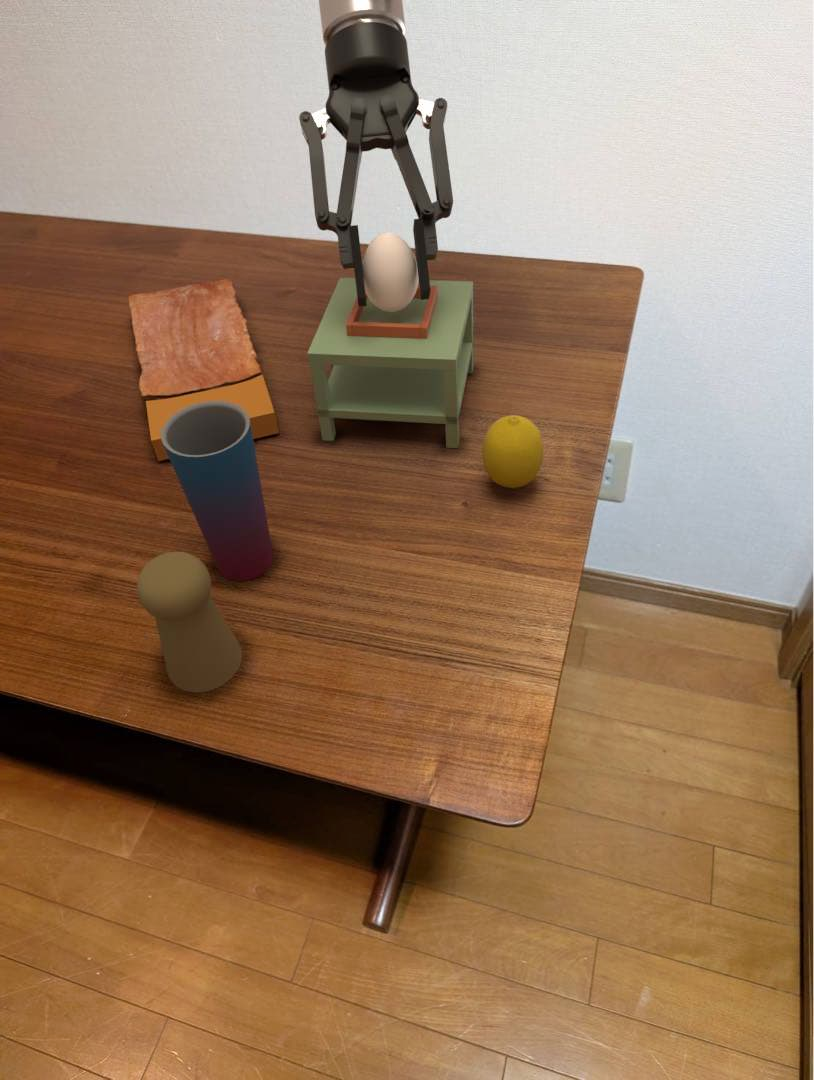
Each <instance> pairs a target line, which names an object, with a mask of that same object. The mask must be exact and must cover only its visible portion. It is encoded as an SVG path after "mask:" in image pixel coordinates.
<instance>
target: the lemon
mask: <svg viewBox="0 0 814 1080" xmlns="http://www.w3.org/2000/svg"><path fill="white" fill-rule="evenodd" d="M481 455H482V456H481V457H482V464H483V467H484V470H485V472H486V474H487V475H488V477H489V478H490V479H491V480H492V481H493V482H494V483H495V484H497V485H499V486H502V487H504V488H508V489H516V488H520V487H521V488H522V487H523V486H526V485H528V484H529V483H530V482H532V481H533V480H534V479H535V477H536V476H537V475H538V474H539V472H540V470H541V468H542V464H543V461H544V443H543V438H542V435H541V432H540V431H539V428H538V427H537V426H536V424H535V423H534V422H532V420H530V419H528V418H527V417H524V416H522V415H518V414H517V415H516V414H515V415H514V414H512V415H511V414H510V415H505V416H503V417H501V418H499V419H497V420H496V421H495V422H493V423H492V424H491V426H490V427H489V428H488V430H487V431H486V434H485V436H484V441H483V444H482V451H481Z"/></svg>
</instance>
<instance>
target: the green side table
mask: <svg viewBox="0 0 814 1080" xmlns="http://www.w3.org/2000/svg"><path fill="white" fill-rule="evenodd" d="M429 282H430V296H429V299H425V300H421V296H420V287H419V280H418V286H417V290H416V293H415V295H414V297H413V299H412V300H411V302H410V303H409V304H408V305H407V306H406V307H405V308H403V309H402V310H400V311H396V312H386V311H383V310H381V309H379V308H378V307H376V306H375V305H374V304H373V303H372V302H371V301H370V300H369V298H368V296H367V294H366V293H365V294H366V305H367V306H358V298H357V289H356V280H355V277H339V279H338V281H337V284H336V286H335V287H334V290H333V293H332V295H331V297H330V300H329V302H328V305H327V306H326V309H325V311H324V313H323V316H322V318H321V321H320V323H319V324H318V327H317V329H316V333H315V335H314V337H313V339H312V341H311V344H310V346H309V348H308V350H307V353H306V355H307V360H308V364H309V371H310V376H311V383H312V390H313V394H314V400H315V405H316V412H317V417H318V423H319V428H320V435H321V440H322V441H327V442H334V441H335V439H336V434H337V431H336V424H335V419H346V420H348V419H349V420H364V421H365V420H366V421H381V422H382V421H384V422H385V421H386V422H402V423H417V424H418V423H421V424H436V425H437V424H439V425H445V448H446V449H458V448H459V446H460V414H461V408H462V404H463V399H464V394H465V388H466V384H467V383H466V382H467V377H468V374H471V375H472V374H473V373H474V372H473V371H474V281H470V280H467V281H466V280H437V279H436V280H435V279H434V280H432V279H429ZM326 366H333V368H332V369H331V372H330V375H329V378H328V374H327V369H326Z"/></svg>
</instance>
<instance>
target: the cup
mask: <svg viewBox="0 0 814 1080" xmlns="http://www.w3.org/2000/svg"><path fill="white" fill-rule="evenodd" d="M161 441H162V443H163V445H164V448H165V450H166V452H167V454H168V457H169V459H168V460H169V461H170V464H171V465H172V468H173V470H174V472H175V475H176V478H177V479H178V482H179V485H180V486H181V489H182V491H183V493H184V496H185V497H186V500H187V503H188V504H189V506H190V510H191V511H192V513H193V516H194V518H195V520H196V522H197V525H198V527H199V529H200V531H201V532H200V533H202V536H203V538H204V540H205V544H206V545H207V548H208V549H209V550H208V551H209V552H210V554H211V556H212V559H213V561H214V564H215V566H216V568H217V570H218V573H220V575H221V576H223V577H224V578H225V579H228V580H230V581H236V582H245V581H250V580H253V579H256V578H258V577H259V576H261V575H263V574H264V573H265V572H267V571H268V569H269V568H270V567H271V565H272V564H273V560H274V552H273V547H272V540H271V535H270V529H269V523H268V517H267V512H266V506H265V500H264V494H263V488H262V483H261V482H262V481H261V477H260V471H259V465H258V459H257V454H256V448H255V441H254V439H253V435H252V430H251V424H250V418H249V416H248V414H247V412H246V411H245V410H244V409H243V408H241V407H240V406H238V405H236V404H233V403H230V402H225V401H206V402H201V403H197V404H194V405H190V406H188V407H186V408H184V409H182V410H180V411H178V412H177V413H175V414H174V415H173V416H172V417H170V418H169V419H168V421H167V422H166V423H165V425H164V426H163V428H162V432H161Z"/></svg>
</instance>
